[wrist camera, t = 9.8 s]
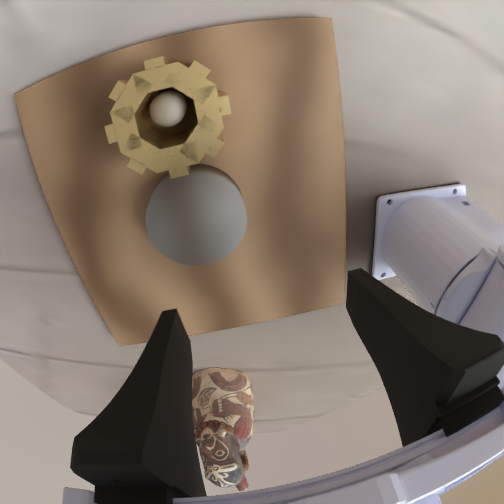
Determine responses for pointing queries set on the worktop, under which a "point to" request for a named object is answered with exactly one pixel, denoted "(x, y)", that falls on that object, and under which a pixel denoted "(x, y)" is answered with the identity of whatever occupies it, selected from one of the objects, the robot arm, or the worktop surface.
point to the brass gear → (155, 139)
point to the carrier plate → (252, 151)
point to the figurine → (223, 424)
